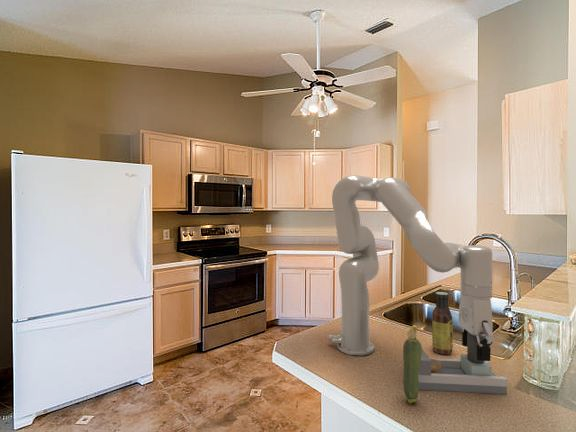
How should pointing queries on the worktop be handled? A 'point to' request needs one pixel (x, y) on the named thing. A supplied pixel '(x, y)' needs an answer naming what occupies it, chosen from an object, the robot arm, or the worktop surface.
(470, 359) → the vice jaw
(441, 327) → the sauce bottle
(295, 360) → the worktop surface
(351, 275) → the robot arm
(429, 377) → the vice bench
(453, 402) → the worktop surface
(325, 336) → the worktop surface
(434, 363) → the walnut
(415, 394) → the vegetable
